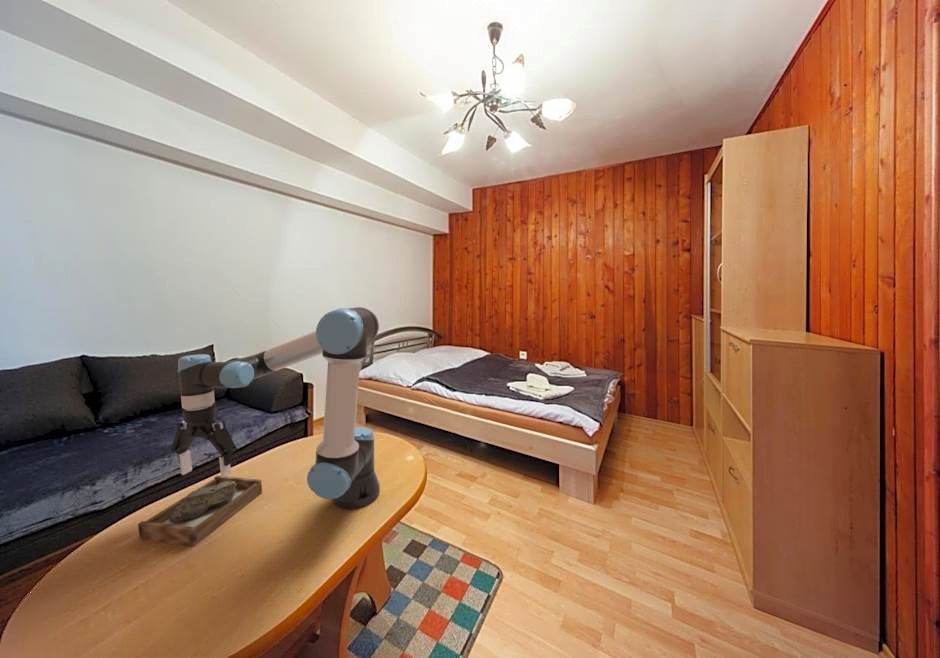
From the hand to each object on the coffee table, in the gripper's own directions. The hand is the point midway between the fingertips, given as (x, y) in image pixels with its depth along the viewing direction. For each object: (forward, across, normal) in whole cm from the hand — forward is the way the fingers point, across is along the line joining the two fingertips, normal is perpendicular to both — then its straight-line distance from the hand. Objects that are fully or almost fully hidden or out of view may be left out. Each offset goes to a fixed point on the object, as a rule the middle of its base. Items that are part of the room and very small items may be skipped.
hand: (206, 473), depth 98 cm
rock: (+12, +2, 0) cm, 12 cm away
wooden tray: (+13, +1, 0) cm, 13 cm away
